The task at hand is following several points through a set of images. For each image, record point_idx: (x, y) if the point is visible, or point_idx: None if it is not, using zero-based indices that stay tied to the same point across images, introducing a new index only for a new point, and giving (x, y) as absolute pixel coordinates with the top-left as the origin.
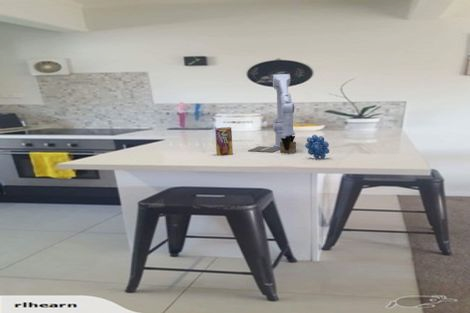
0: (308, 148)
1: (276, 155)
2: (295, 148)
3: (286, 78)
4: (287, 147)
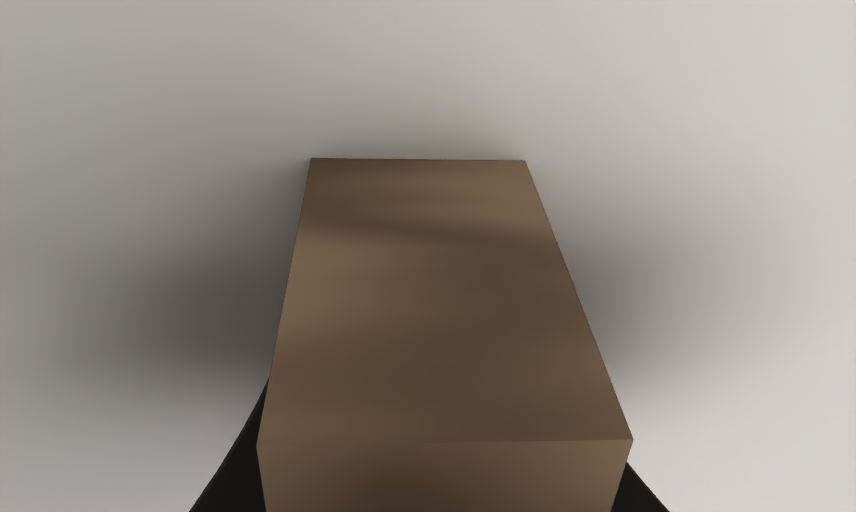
0: None
1: (837, 427)
2: (367, 235)
3: None
4: None
